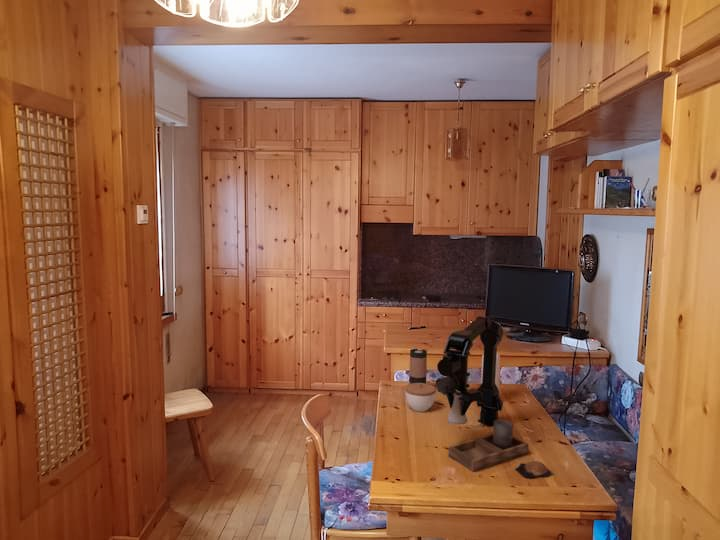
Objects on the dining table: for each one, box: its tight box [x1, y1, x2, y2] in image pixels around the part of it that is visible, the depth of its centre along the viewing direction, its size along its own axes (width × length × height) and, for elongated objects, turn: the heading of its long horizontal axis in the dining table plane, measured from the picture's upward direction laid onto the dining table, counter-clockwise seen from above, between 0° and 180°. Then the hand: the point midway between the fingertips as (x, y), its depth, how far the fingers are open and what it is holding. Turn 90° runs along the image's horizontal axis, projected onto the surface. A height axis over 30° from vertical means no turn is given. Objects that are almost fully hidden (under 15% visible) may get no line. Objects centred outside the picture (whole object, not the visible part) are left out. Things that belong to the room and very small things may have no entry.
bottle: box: [480, 351, 501, 391], centre depth 223 cm, size 8×8×30 cm
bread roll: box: [514, 460, 555, 480], centre depth 163 cm, size 11×8×4 cm
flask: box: [446, 392, 468, 425], centre depth 180 cm, size 7×7×10 cm
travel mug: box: [409, 348, 428, 384], centre depth 232 cm, size 8×8×20 cm
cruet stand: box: [448, 418, 529, 473], centre depth 174 cm, size 25×12×10 cm, turn 121°
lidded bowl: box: [404, 383, 437, 413], centre depth 215 cm, size 13×13×11 cm
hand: (457, 412), depth 180 cm, fingers closed on flask, 5 cm apart
